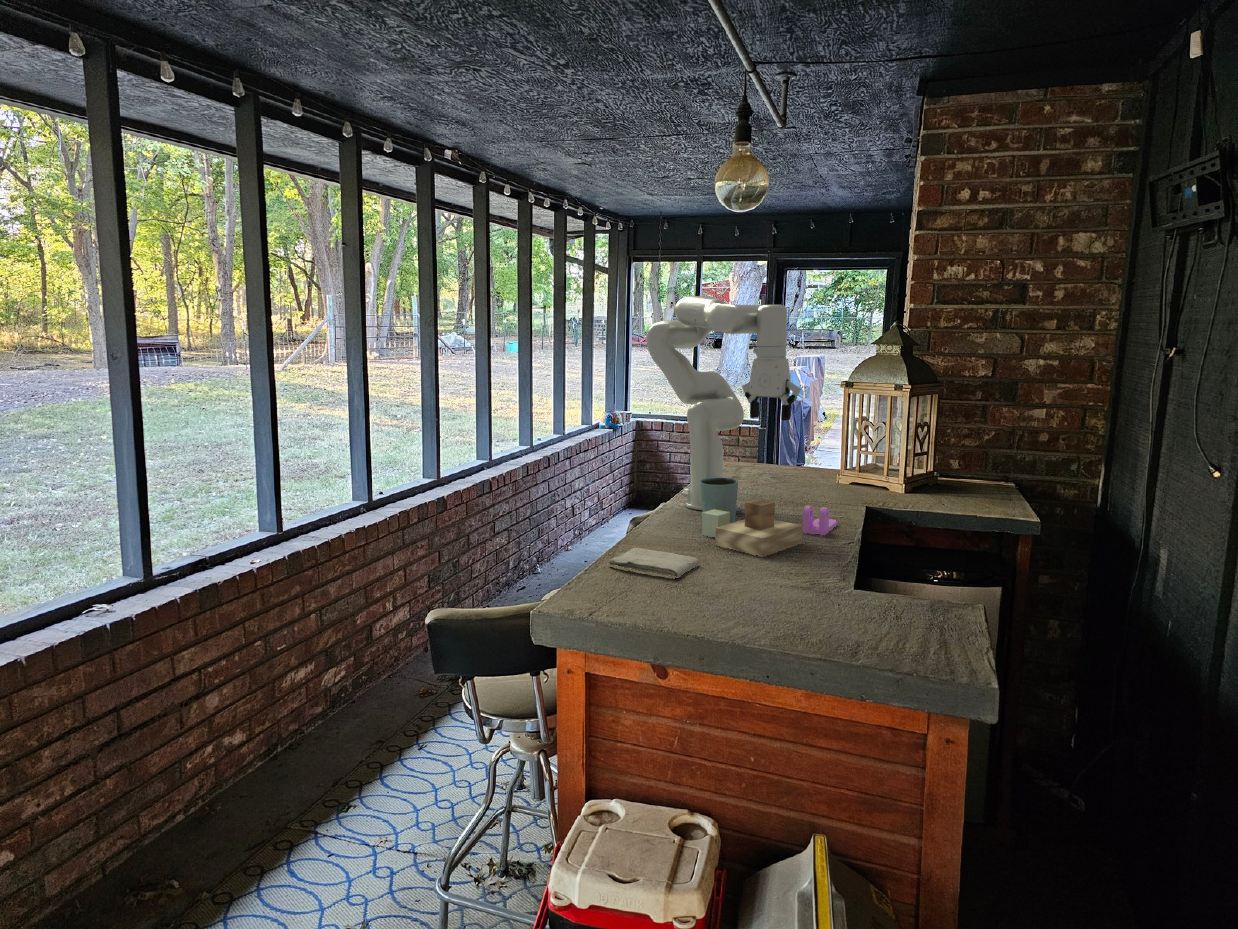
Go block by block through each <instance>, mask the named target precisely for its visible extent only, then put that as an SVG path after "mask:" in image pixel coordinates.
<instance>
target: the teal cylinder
mask: <svg viewBox="0 0 1238 929" xmlns="http://www.w3.org/2000/svg"><path fill="white" fill-rule="evenodd" d="M700 489H701V499H702V510H701V511H702V513H703V512H706V511H710V510H713V509H715V510H721V511H726V512H730V523H733V522H736V515H737V502H738V501H737V499H738V491H739V490H738V489H739V480H737V479H736V478H731V477H725V476H723V477H714V478H706V479H703V480H701V481H700ZM702 513H701V514H702Z"/></svg>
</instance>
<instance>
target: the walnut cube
mask: <svg viewBox="0 0 1238 929" xmlns="http://www.w3.org/2000/svg"><path fill="white" fill-rule="evenodd" d="M775 505H776V502H774V501H769V500H764V499H760V498H759V499H758V498H757V499H754V500H749V501H745V502H744V519H745V526H746V527H750V528H754V529H757V530H763V529H767V528H771V527H774V520H775V512H776V511H775V510H776V509H775V508H776V507H775Z"/></svg>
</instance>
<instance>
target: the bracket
mask: <svg viewBox="0 0 1238 929" xmlns="http://www.w3.org/2000/svg"><path fill="white" fill-rule="evenodd" d="M802 514H803V515H802V517H803V518H802V525H803V526H802V534H807V533H809V534H808V535H815V534H820V535H819V536H823V535H824V536H826V535H827V534H829V533H830V532H831V531H833V530H834V529H835V528H836V527H837V522H838V521H837V520H836V519H832V518H830V508H829V507H825V506H822V507H821V508H820V509H819V518H816V519H814V507H813V505H805V506H804V509H803V513H802ZM834 527H835V528H834ZM833 528H834V529H833ZM829 531H830V532H829ZM825 534H826V535H825Z"/></svg>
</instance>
